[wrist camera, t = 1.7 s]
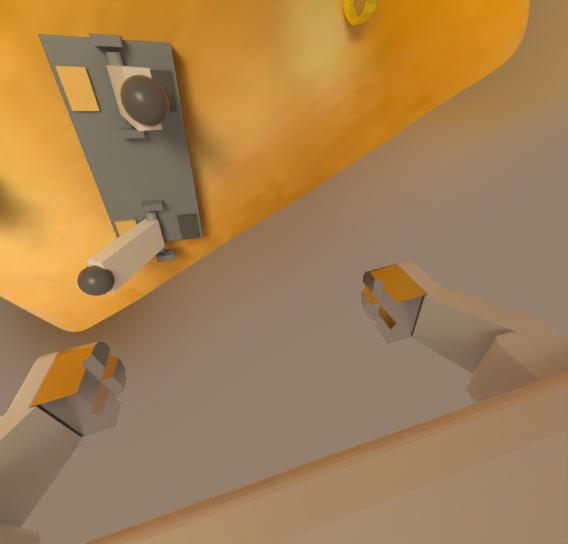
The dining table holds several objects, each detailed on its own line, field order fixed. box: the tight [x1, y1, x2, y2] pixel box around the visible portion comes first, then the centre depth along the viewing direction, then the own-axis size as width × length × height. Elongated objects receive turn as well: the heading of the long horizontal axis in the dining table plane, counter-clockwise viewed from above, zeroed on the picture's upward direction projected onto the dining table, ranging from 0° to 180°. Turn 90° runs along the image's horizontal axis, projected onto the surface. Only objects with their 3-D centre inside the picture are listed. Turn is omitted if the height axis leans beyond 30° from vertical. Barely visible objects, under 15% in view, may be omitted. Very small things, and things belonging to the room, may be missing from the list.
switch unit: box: [38, 34, 203, 262], centre depth 33 cm, size 11×24×5 cm, turn 178°
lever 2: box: [78, 211, 166, 296], centre depth 32 cm, size 3×6×13 cm
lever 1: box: [106, 52, 169, 131], centre depth 23 cm, size 3×6×13 cm, turn 178°
